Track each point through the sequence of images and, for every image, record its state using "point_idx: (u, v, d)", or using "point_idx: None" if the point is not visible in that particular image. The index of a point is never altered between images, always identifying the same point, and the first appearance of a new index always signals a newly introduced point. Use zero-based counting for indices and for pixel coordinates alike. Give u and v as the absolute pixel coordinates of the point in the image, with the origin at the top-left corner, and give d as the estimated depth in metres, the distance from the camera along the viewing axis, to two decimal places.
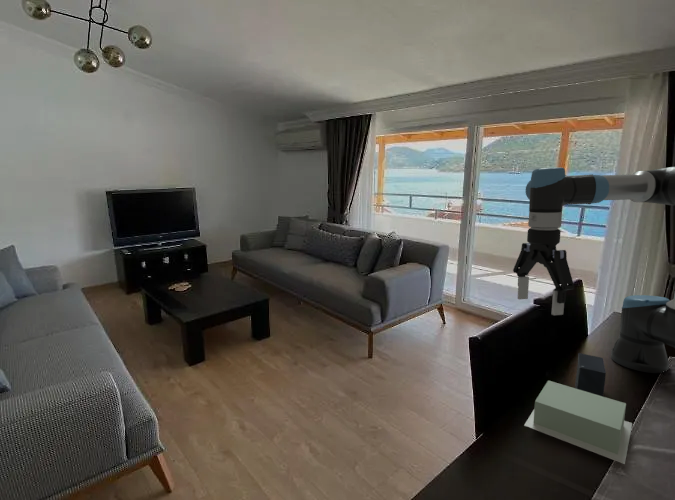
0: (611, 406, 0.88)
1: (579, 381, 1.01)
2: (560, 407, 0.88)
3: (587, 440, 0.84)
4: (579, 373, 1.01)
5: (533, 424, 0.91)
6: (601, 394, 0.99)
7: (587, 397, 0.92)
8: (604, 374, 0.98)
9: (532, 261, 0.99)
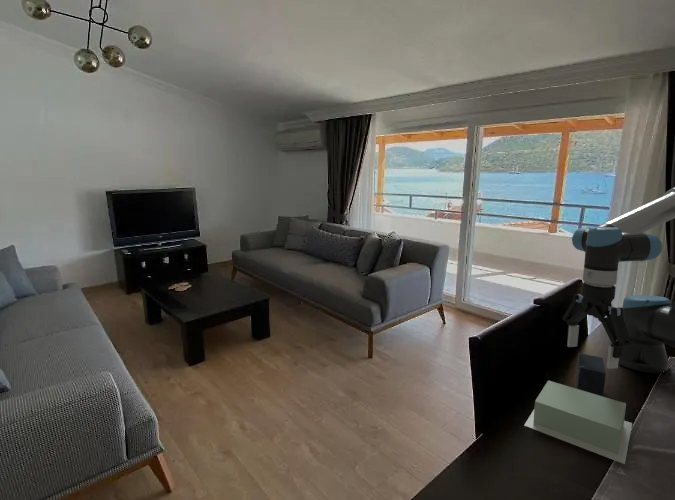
0: (611, 406, 0.88)
1: (579, 381, 1.01)
2: (560, 407, 0.88)
3: (587, 440, 0.84)
4: (579, 373, 1.01)
5: (533, 424, 0.91)
6: (601, 394, 0.99)
7: (587, 397, 0.92)
8: (604, 374, 0.98)
9: (584, 313, 1.04)
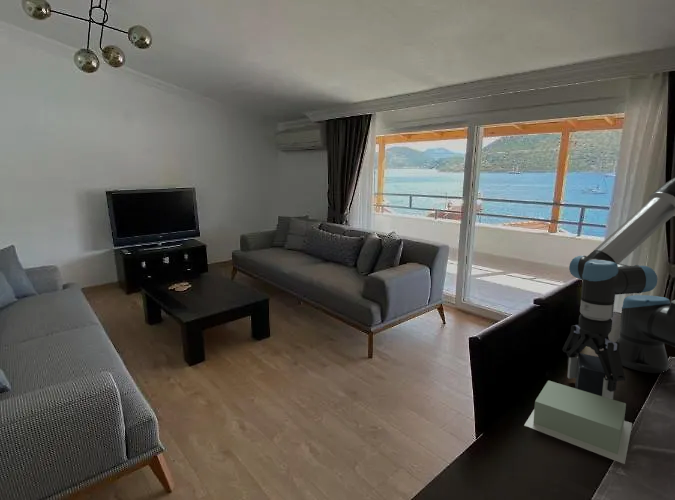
0: (611, 406, 0.88)
1: (579, 381, 1.01)
2: (560, 407, 0.88)
3: (587, 440, 0.84)
4: (579, 373, 1.01)
5: (533, 424, 0.91)
6: (601, 394, 0.99)
7: (587, 397, 0.92)
8: (604, 374, 0.98)
9: (583, 344, 1.05)
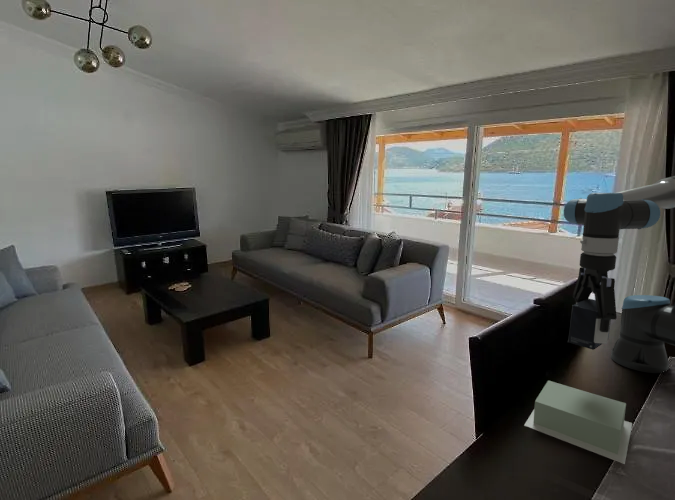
0: (611, 406, 0.88)
1: (572, 320, 0.95)
2: (560, 407, 0.88)
3: (587, 440, 0.84)
4: (572, 312, 0.95)
5: (533, 424, 0.91)
6: (593, 335, 0.92)
7: (587, 397, 0.92)
8: (597, 313, 0.91)
9: (587, 286, 0.98)
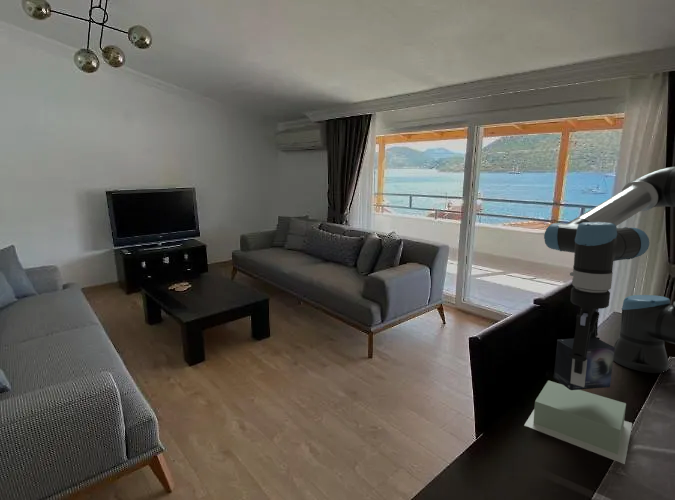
0: (611, 406, 0.88)
1: (556, 355, 0.90)
2: (560, 407, 0.88)
3: (587, 440, 0.84)
4: (557, 346, 0.90)
5: (533, 424, 0.91)
6: None
7: (587, 397, 0.92)
8: None
9: None
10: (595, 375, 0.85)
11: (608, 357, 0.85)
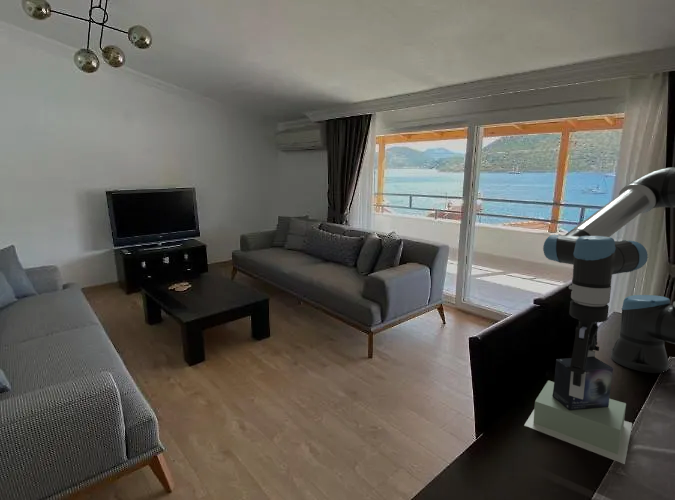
0: (611, 406, 0.88)
1: (555, 375, 0.91)
2: (560, 407, 0.88)
3: (587, 440, 0.84)
4: (556, 366, 0.91)
5: (533, 424, 0.91)
6: (569, 395, 0.86)
7: None
8: None
9: None
10: (594, 396, 0.86)
11: (606, 378, 0.86)
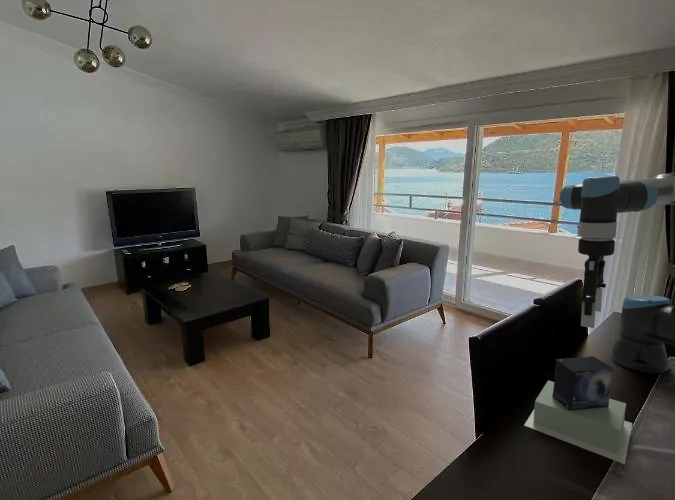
0: (611, 406, 0.88)
1: (555, 375, 0.91)
2: (560, 407, 0.88)
3: (587, 440, 0.84)
4: (556, 366, 0.91)
5: (533, 424, 0.91)
6: (569, 395, 0.86)
7: None
8: (572, 373, 0.85)
9: None
10: (594, 396, 0.86)
11: (606, 378, 0.86)
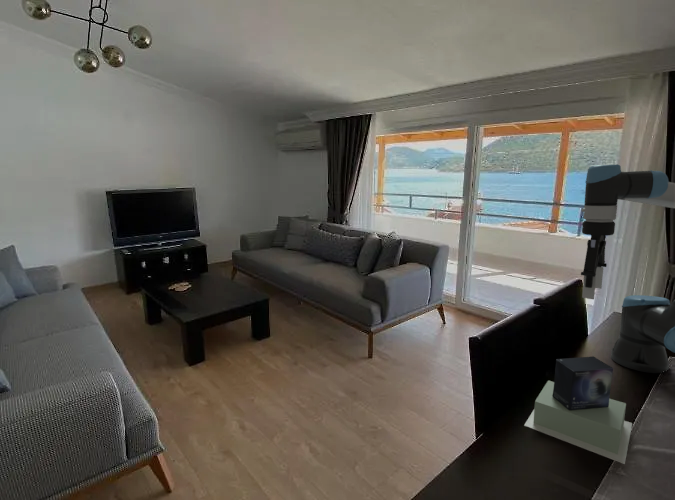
0: (611, 406, 0.88)
1: (555, 375, 0.91)
2: (560, 407, 0.88)
3: (587, 440, 0.84)
4: (556, 366, 0.91)
5: (533, 424, 0.91)
6: (569, 395, 0.86)
7: None
8: (572, 373, 0.85)
9: None
10: (594, 396, 0.86)
11: (606, 378, 0.86)
